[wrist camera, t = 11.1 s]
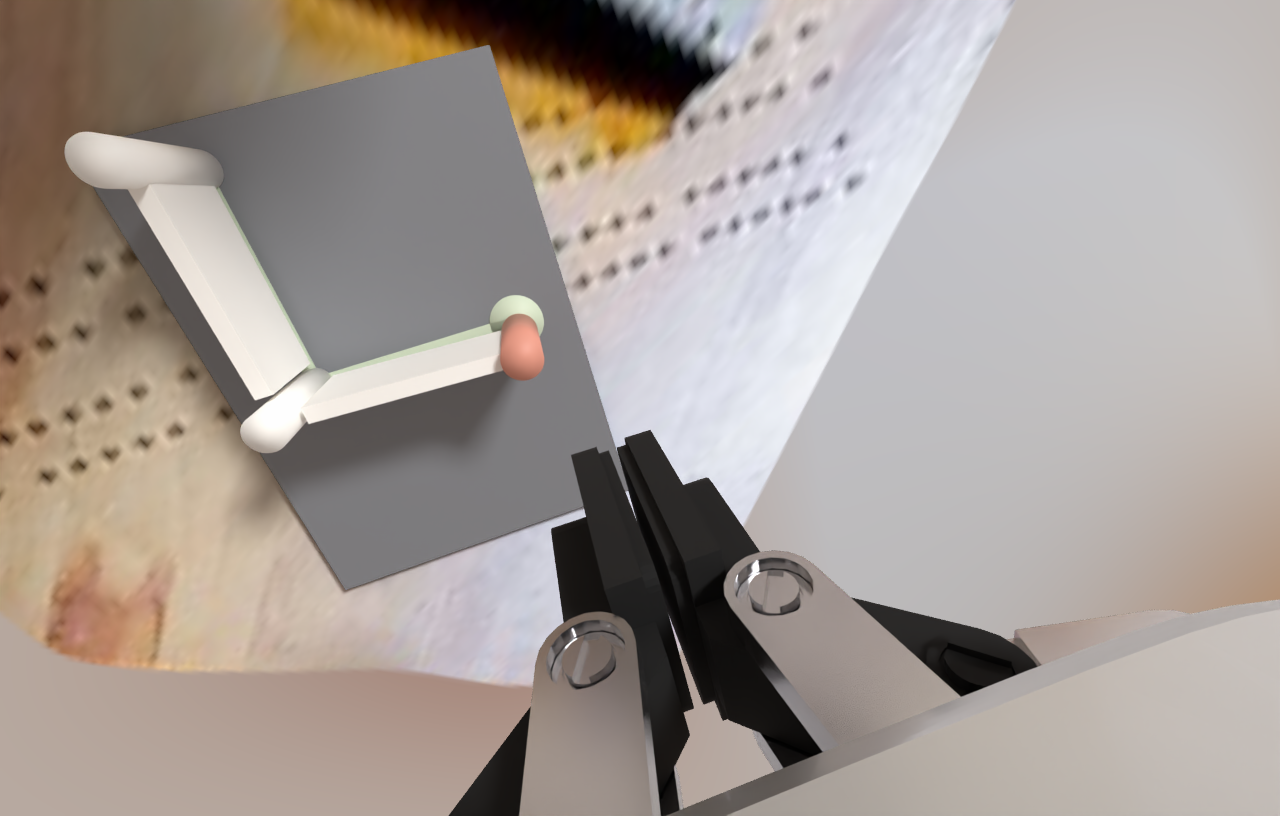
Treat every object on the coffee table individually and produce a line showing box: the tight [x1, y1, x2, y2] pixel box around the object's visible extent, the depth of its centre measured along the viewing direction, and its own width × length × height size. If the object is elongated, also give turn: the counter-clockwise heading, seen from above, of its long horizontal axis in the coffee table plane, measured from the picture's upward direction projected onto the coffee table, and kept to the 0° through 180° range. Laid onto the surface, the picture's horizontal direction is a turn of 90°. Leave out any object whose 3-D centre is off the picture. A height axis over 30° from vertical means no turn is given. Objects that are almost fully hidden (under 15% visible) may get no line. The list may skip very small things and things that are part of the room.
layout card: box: [93, 45, 628, 590], centre depth 30 cm, size 26×19×1 cm
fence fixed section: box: [65, 132, 331, 453], centre depth 24 cm, size 13×2×7 cm, turn 16°
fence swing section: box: [301, 314, 544, 424], centre depth 27 cm, size 11×2×6 cm, turn 103°
